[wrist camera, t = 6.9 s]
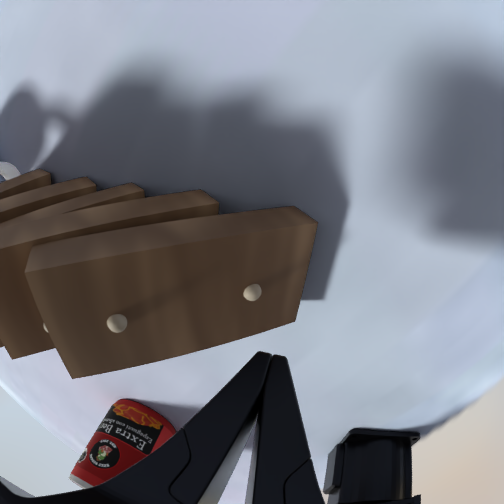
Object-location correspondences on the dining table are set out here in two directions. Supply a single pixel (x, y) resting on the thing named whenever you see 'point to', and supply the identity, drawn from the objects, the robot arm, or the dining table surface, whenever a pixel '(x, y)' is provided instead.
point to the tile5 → (25, 183)
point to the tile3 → (81, 205)
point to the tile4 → (44, 197)
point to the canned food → (120, 442)
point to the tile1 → (170, 286)
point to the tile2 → (63, 227)
